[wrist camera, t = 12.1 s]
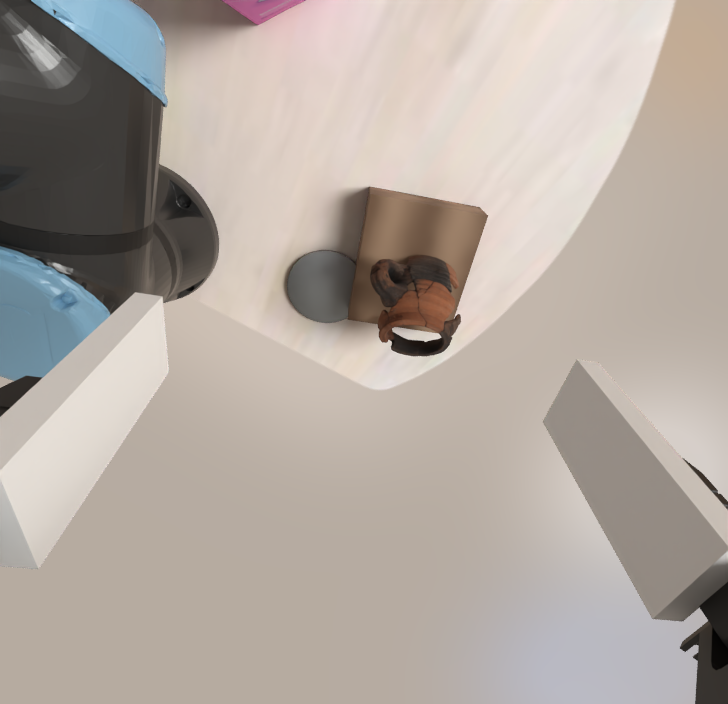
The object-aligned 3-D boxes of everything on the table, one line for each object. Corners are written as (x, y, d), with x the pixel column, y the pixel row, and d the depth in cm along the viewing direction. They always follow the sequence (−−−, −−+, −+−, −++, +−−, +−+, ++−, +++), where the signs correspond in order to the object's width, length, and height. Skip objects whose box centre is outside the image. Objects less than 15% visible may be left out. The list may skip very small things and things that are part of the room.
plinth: (348, 305, 51) (347, 319, 48) (369, 186, 43) (370, 193, 40) (443, 320, 52) (448, 334, 49) (479, 207, 45) (488, 215, 42)
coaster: (285, 314, 51) (284, 316, 51) (291, 243, 46) (290, 245, 46) (356, 325, 52) (357, 327, 52) (370, 257, 47) (370, 259, 47)
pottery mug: (479, 282, 46) (478, 347, 42) (414, 311, 52) (408, 369, 48) (406, 216, 39) (396, 286, 35) (342, 258, 46) (328, 321, 42)
